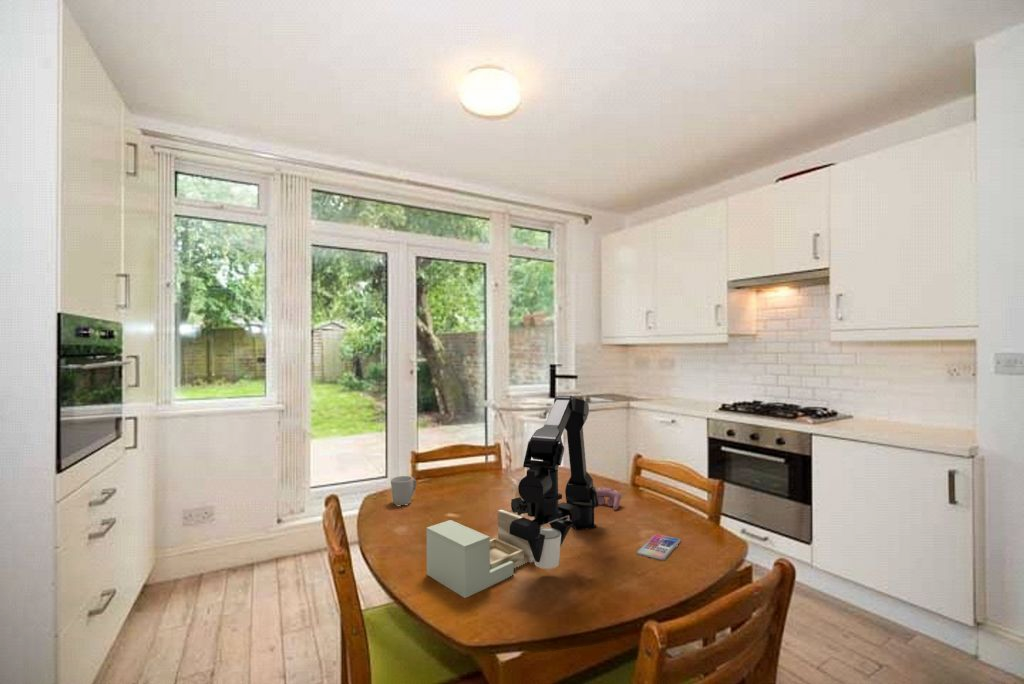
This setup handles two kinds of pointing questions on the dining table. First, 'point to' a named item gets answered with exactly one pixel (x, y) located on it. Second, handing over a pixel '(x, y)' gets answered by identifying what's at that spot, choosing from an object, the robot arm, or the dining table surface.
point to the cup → (402, 489)
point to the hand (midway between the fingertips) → (546, 557)
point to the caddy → (462, 559)
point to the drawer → (508, 544)
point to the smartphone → (659, 547)
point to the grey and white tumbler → (550, 549)
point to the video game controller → (613, 497)
